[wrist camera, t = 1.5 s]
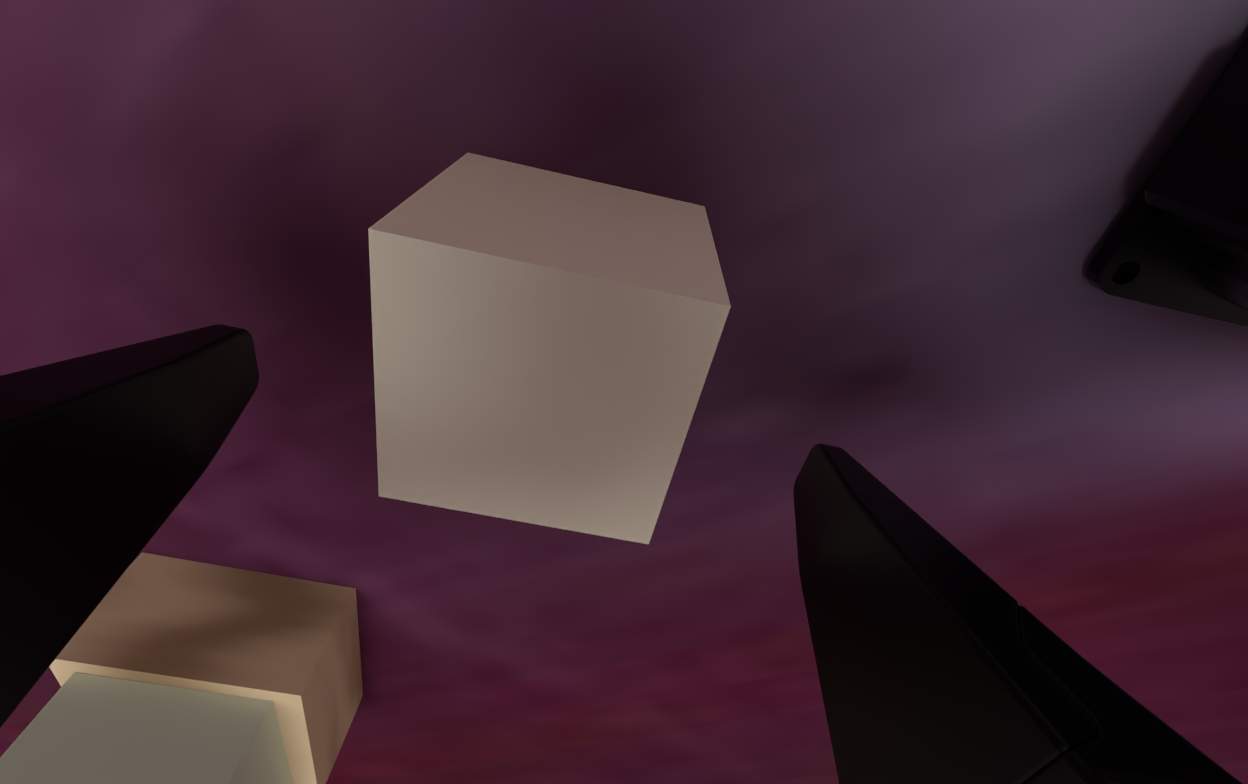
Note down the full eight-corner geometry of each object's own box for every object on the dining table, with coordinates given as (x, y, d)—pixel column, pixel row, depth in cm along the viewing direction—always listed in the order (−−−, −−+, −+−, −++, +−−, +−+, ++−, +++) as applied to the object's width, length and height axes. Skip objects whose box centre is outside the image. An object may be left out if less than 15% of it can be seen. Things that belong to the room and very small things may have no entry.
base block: (359, 581, 20) (301, 695, 17) (365, 688, 24) (319, 798, 20) (148, 545, 19) (43, 657, 16) (189, 660, 23) (112, 770, 20)
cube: (704, 205, 12) (730, 306, 8) (650, 395, 15) (648, 544, 11) (469, 151, 12) (368, 228, 8) (457, 357, 15) (378, 496, 10)
